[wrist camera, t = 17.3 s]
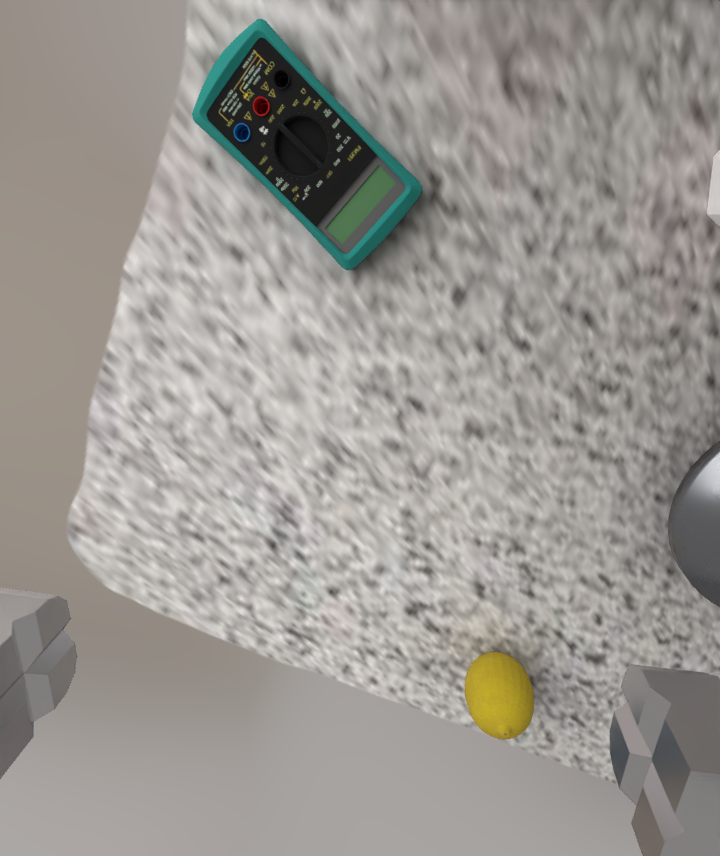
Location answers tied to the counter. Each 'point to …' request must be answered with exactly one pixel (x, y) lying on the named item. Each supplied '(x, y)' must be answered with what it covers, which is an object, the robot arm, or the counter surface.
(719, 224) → the mug
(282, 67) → the digital multimeter
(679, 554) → the plate
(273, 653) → the counter surface
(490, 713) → the lemon
